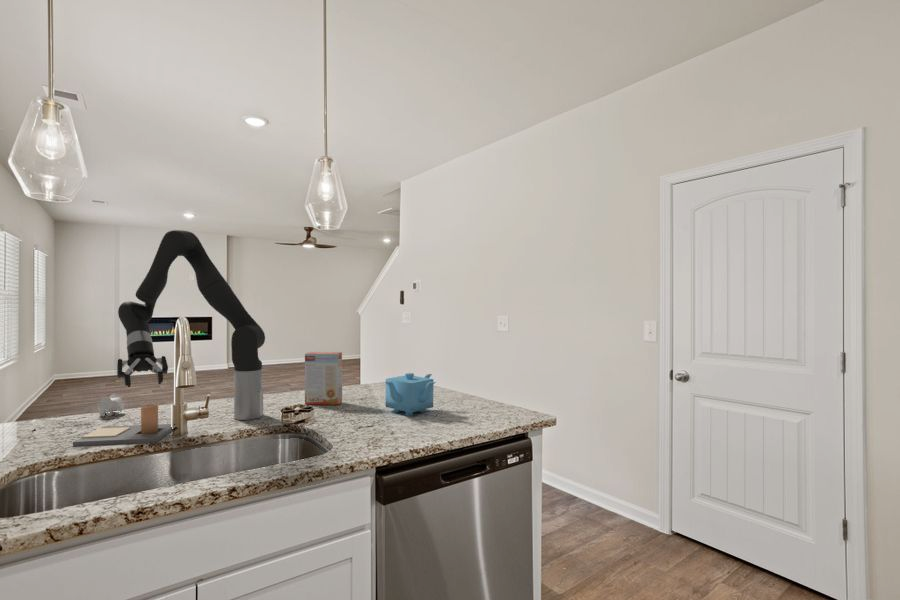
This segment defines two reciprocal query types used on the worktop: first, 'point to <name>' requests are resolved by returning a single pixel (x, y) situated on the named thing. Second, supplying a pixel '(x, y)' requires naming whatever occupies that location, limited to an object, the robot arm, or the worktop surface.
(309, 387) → the cracker box
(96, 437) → the pocket plate
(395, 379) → the teakettle
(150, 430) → the peg
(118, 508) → the worktop surface
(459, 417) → the worktop surface
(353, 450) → the worktop surface
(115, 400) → the elephant figurine
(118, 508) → the worktop surface
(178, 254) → the robot arm
